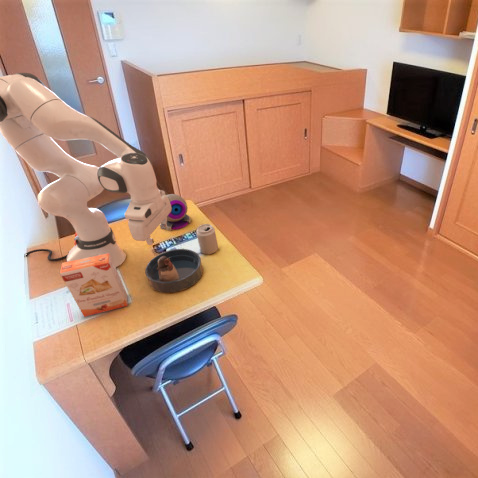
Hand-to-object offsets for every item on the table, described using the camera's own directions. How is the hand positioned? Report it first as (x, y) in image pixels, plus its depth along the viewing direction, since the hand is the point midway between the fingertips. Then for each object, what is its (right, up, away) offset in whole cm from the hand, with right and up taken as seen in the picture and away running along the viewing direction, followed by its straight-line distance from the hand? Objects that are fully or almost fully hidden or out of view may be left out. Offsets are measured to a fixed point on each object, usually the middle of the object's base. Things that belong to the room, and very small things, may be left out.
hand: (157, 235), depth 125 cm
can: (+9, -6, +29) cm, 31 cm away
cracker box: (-19, -26, +2) cm, 32 cm away
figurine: (-1, -18, +12) cm, 21 cm away
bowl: (0, -16, +15) cm, 22 cm away
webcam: (-12, +7, +46) cm, 48 cm away
